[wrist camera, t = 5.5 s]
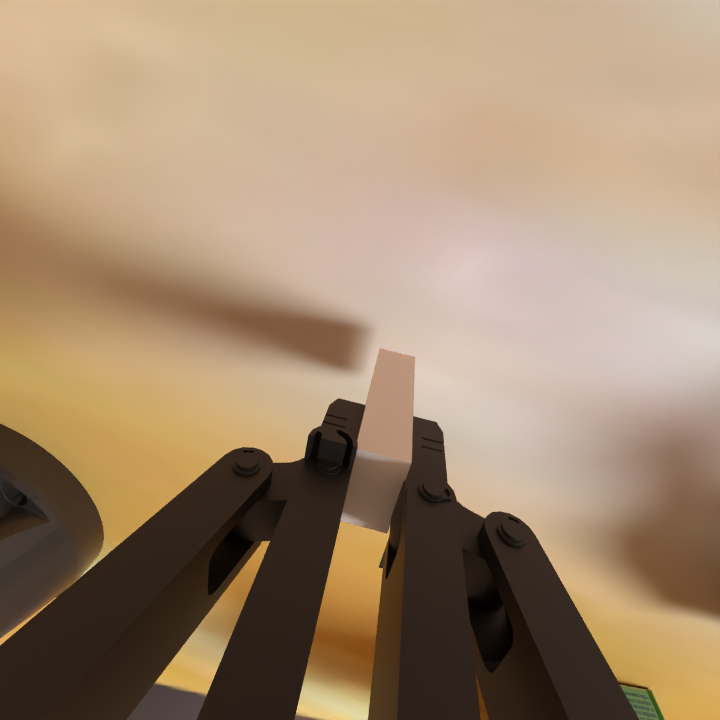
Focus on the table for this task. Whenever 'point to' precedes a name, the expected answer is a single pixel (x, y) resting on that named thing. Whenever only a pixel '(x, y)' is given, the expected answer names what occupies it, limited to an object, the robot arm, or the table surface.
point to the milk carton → (643, 703)
